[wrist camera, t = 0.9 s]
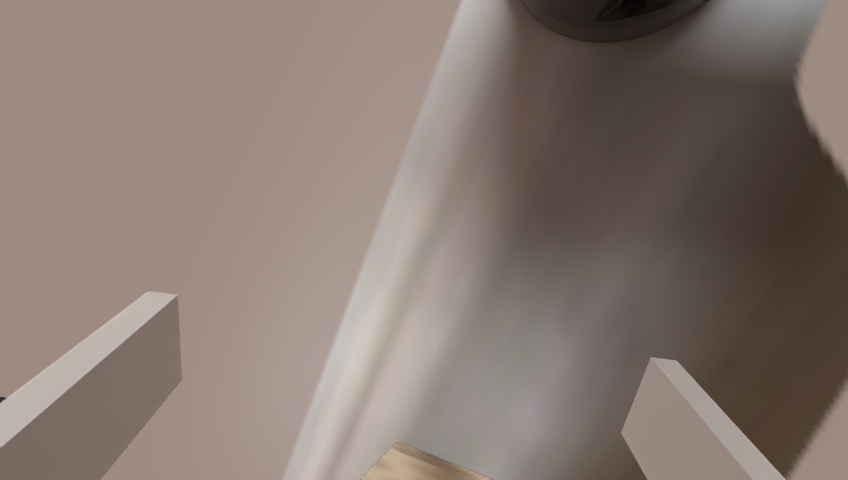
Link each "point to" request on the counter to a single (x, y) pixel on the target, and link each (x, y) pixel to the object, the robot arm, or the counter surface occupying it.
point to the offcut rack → (416, 467)
